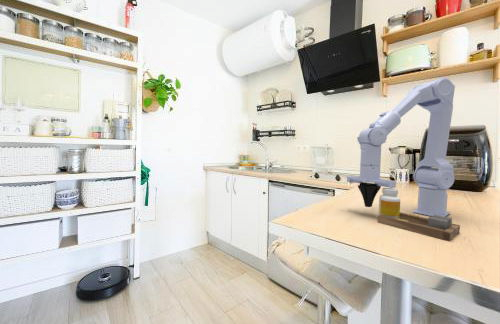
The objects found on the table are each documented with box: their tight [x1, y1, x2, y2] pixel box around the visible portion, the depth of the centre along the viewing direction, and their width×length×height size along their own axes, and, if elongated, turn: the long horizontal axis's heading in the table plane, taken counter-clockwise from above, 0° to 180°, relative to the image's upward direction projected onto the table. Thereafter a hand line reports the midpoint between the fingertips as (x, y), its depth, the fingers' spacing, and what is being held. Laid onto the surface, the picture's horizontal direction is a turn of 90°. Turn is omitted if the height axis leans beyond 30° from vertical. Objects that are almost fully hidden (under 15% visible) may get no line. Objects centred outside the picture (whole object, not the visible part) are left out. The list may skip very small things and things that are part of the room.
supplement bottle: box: [378, 187, 401, 219], centre depth 66 cm, size 5×5×10 cm
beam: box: [377, 212, 461, 242], centre depth 60 cm, size 9×16×4 cm, turn 36°
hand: (368, 206), depth 71 cm, fingers closed
